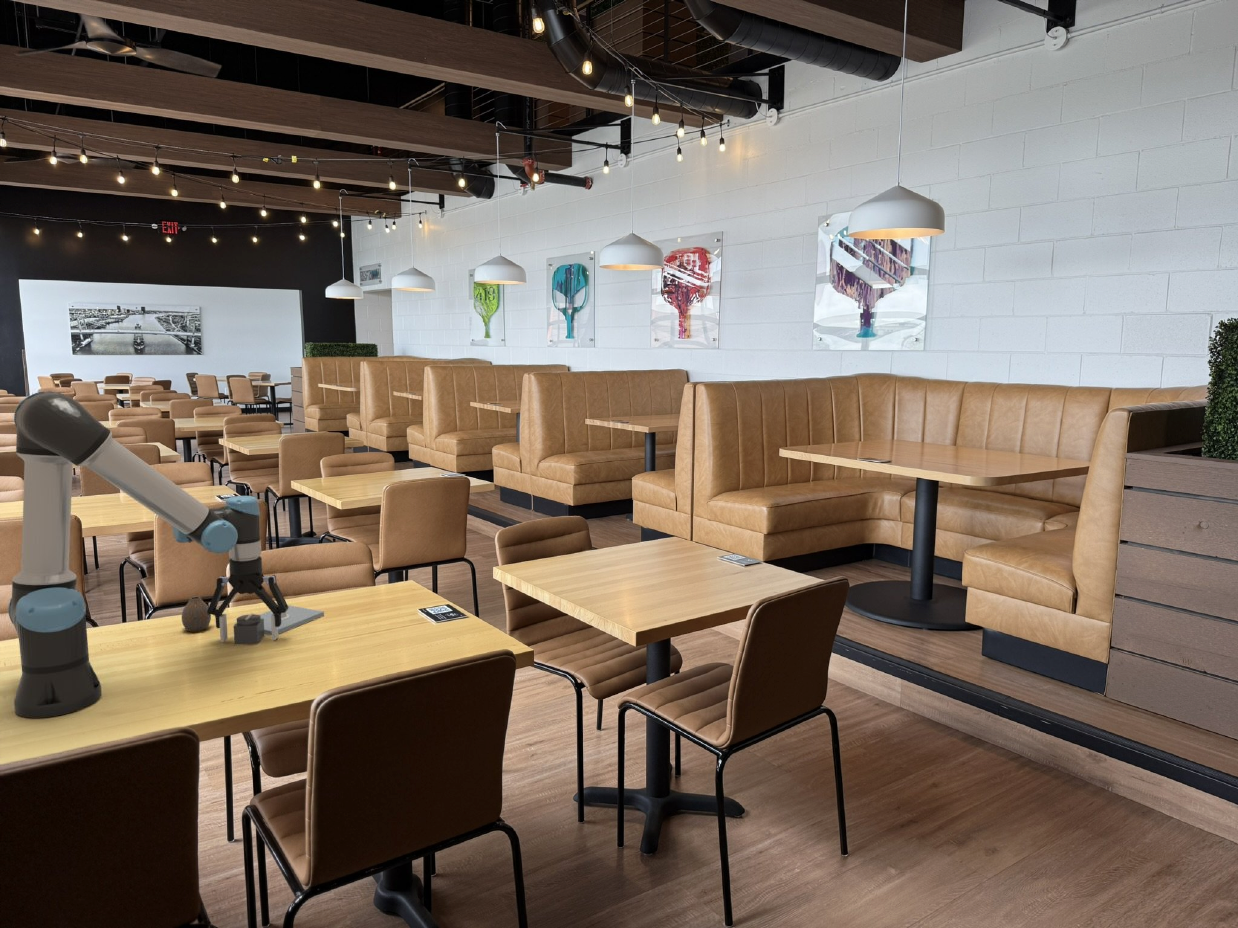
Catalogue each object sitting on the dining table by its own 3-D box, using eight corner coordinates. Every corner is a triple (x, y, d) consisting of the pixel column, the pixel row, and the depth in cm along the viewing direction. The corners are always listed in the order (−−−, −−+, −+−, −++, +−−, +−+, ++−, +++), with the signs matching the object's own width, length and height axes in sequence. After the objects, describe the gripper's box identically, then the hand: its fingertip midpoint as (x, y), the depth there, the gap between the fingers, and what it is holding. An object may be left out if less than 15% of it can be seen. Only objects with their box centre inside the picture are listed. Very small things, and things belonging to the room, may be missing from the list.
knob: (257, 643, 207) (256, 619, 206) (234, 644, 207) (233, 620, 206) (264, 636, 213) (263, 612, 212) (242, 636, 212) (240, 613, 211)
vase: (203, 634, 214) (201, 601, 212) (177, 633, 214) (174, 601, 213) (216, 625, 221) (214, 593, 219) (191, 624, 221) (189, 593, 219)
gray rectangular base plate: (273, 635, 213) (272, 616, 212) (234, 627, 219) (233, 609, 218) (324, 615, 229) (323, 597, 229) (286, 608, 235) (285, 591, 234)
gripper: (298, 552, 212) (302, 632, 215) (201, 554, 209) (206, 635, 212) (290, 560, 204) (294, 643, 207) (189, 561, 202) (194, 645, 205)
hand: (249, 639), depth 210 cm, fingers open, 12 cm apart
